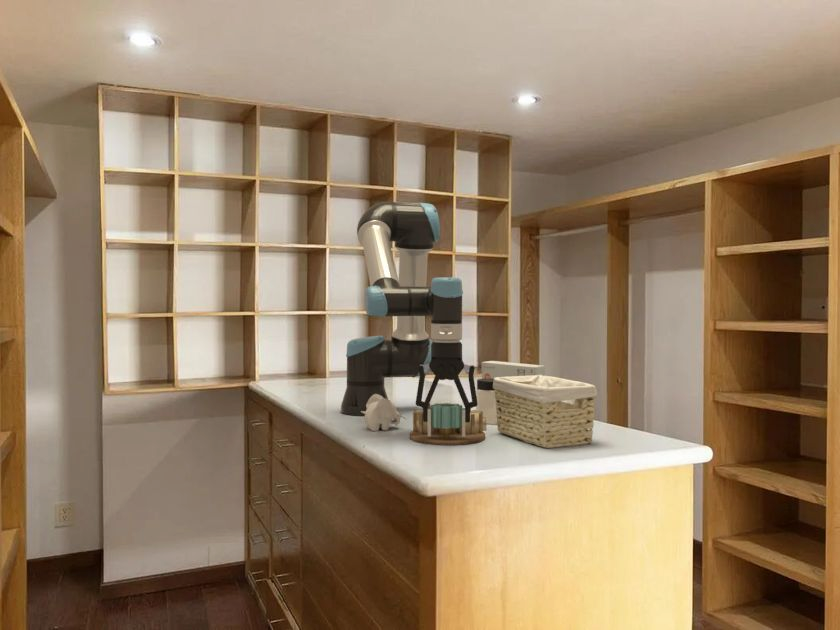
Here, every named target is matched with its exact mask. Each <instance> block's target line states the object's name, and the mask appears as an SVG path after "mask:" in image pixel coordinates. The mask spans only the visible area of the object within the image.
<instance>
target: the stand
mask: <svg viewBox="0 0 840 630" xmlns="http://www.w3.org/2000/svg"><path fill="white" fill-rule="evenodd" d="M486 430H487V424H486V417H483V431H486Z"/></svg>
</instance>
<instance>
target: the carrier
mask: <svg viewBox="0 0 840 630" xmlns="http://www.w3.org/2000/svg"><path fill="white" fill-rule="evenodd" d="M428 408H431V403H429V406H428ZM409 439H410V440H411V441H413V442H414V443H419V444H425V445H433V446H465V445H472V444H477V443H481V442H483V441H485V440H486V433H485V431H484V430H483V412H482V411H476V409H473V410H472V408H471V409H470V422H465V437H462V426H460V427H459V428H448V429H444V428H434V426H431V436H428V422H424V421H423V408H422V409H417V410H414V411H412V430H411V431H410V432H409Z"/></svg>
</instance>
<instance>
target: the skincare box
mask: <svg viewBox="0 0 840 630" xmlns="http://www.w3.org/2000/svg"><path fill="white" fill-rule="evenodd" d="M532 375H542V376H546V365H542V364H541V365H540V364H531V363H519V362H509V361H499V360H488V361H482V362H481V379H485V378H496V377H511V376H532Z"/></svg>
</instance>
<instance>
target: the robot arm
mask: <svg viewBox="0 0 840 630" xmlns="http://www.w3.org/2000/svg"><path fill="white" fill-rule="evenodd" d="M356 234H357V240H358V242H359V244H360V246H362V249H363V252H364V259H365V263H366V269H367V274H368V280H369V285H370V286H367V287H366V288H365V292H364V309H365V313H366V314H367V315H368V316H370V317H371V316H372V317H382V318H384V317H396V329H395V330H394V331H393V332H392V333H391V339H386V338H385V336H384V335H372V336H364V337H359V338H358V337H357V338H354V339H351V340H349V341H348V342H347V345H346V355H345V357H346V389H345V391H344V395H343V399H342V402H341V404H340V412H341V414H345V415H350V416H365V414H364V413H362V412H361V411H365V412H366V410H367V407H366V404H367V402H368V400H369V399H370V397H371V396H372V395H374V394H378V395H381V396H382V397H383V398H386V399H388V400H389V398H388V397H389V396H388V395H387V392H386V387H385V378H418V377H419V379H418V383H417V384H418V386H417V391H416V399H415V406H416V407H420V408H422V409H423V421H424V422H428V436H431V407H430V408H428V406H429V404H431V403H430V402H431V401H432V398H433V396H434V393H435V391H436V388H437V386H438V384H439V381H444V380H449V381H453V383H454V384H455V386H456V388H457V389H456V390H457V392H458V394H459V396H460V398H461V401H462V403H463V406H464V407H462V437H465V422H470V409H471V410H472V408H475V407H476V406H477V389H476V383H475V378H474V373H475V369H476V367H475V365H474V364H471V365H469V364H466V363H464V361H463V343H462V342H461V340H463V295H464V294H463V293H464V291H463V282H462V279H460V278H459V277H451V276H450V277H448V276H447V277H445V276H443V277H433V278H432V279H431V283H430V286H427V279H428V278H427V277H428V275H427V274H428V257H429V253H430V252H431V251H433V250H434V244H436V243H438V242H439V241H440V236H441V224H440V218H439V214H438V211H437V208H436V206H435V205H434V204H431V203H428V202H427V203H426V202H417V201H415V202H413V201H409V202H407V201H406V202H405V201H403V202H402V201H400V202H399V201H397V202H396V201H383V202H379V203H375V204H374V205H372V206H370V207H369V208H368V209H366V211H365V212H364V213H363V214H362V215H361V217H360V219H359V221H358V223H357V228H356ZM390 242H393V243H394V248H395V249H396V250H397V251H398V253H399V259H398V260H399V263H398V272H397V266H396V263H395V260H394V253H393V251H392V247H391V243H390ZM425 317H430V318H431V323H430V335H429V334H428V333H427V331H426V330H425V325H426V324H425V323H426V318H425ZM463 370H465V374H467V375H468V382H469V389H470V397H471V401H469V399H468V397H467V394H466V392H465V389H464V387H463V384H462V382H461V379H460V376H459V374H460V373H461V372H462V371H463ZM430 371H432V374H434V377H433V380H432V383H431V386H430V388H429V390H428V393H427V395H426V398H425V399H424V401H422V399H423V394H424V386H425V379H426V376H427V375H429V373H430Z"/></svg>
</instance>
